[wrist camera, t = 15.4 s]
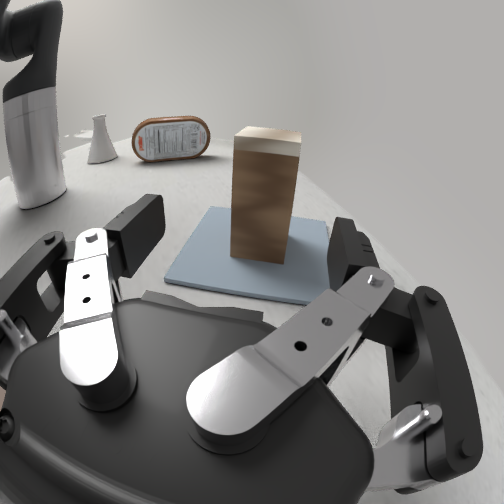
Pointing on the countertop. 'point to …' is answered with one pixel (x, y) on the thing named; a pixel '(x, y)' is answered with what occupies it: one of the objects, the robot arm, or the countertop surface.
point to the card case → (263, 192)
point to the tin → (170, 138)
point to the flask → (100, 142)
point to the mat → (254, 262)
